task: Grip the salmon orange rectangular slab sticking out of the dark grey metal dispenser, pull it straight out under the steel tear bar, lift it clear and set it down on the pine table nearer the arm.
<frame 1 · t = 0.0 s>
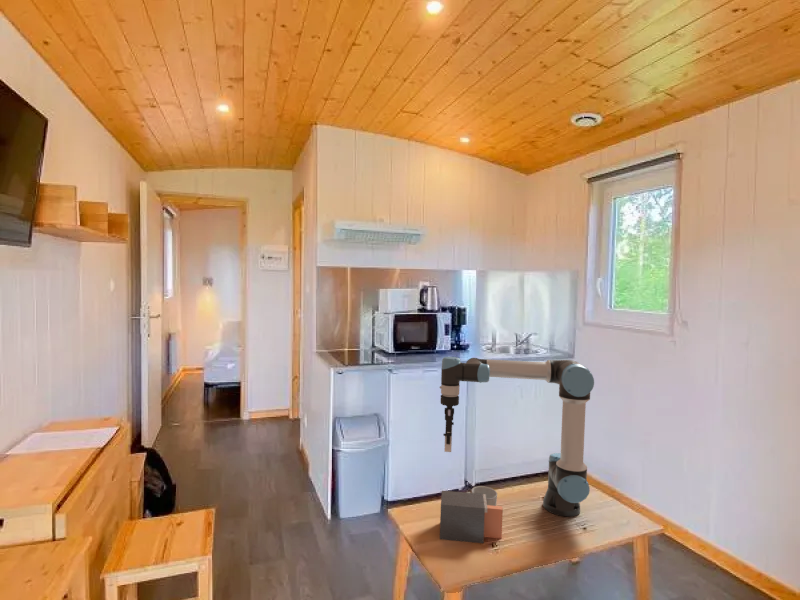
hand: (448, 446, 191), 28 cm above the table, fingers open, 13 cm apart
salmon orange rectangular slab: (485, 535, 175), on the table
dispenser: (461, 532, 177), on the table
teacup: (479, 510, 195), on the table
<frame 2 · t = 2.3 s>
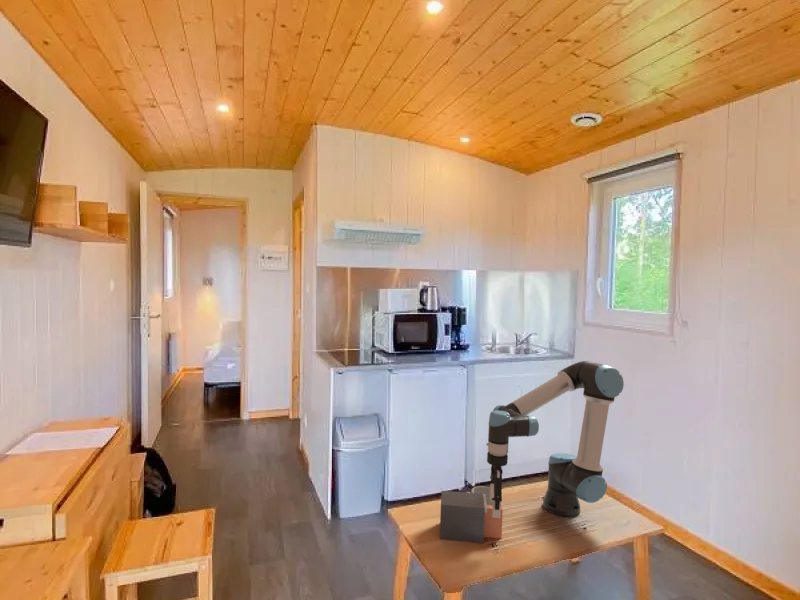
hand: (494, 508, 175), 10 cm above the table, fingers open, 13 cm apart
nothing on the table moved.
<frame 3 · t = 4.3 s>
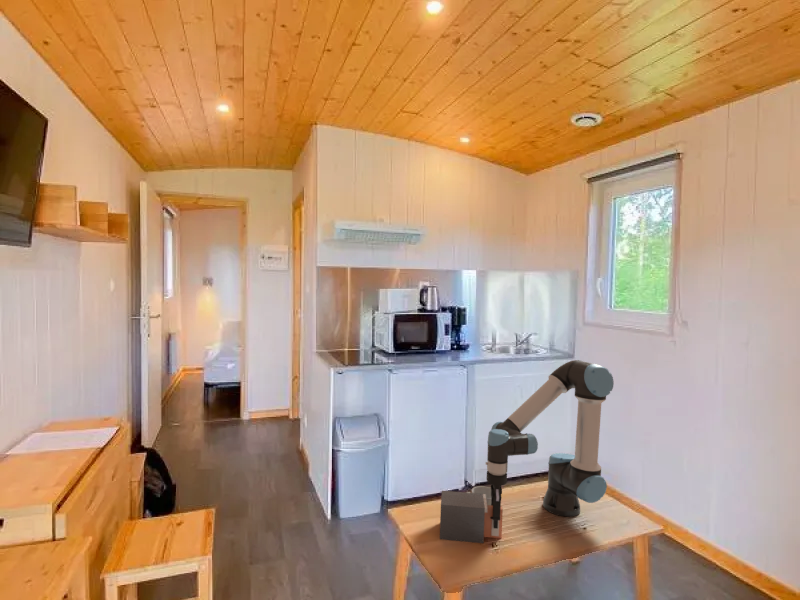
hand: (494, 533, 175), 1 cm above the table, fingers closed on salmon orange rectangular slab, 2 cm apart
salmon orange rectangular slab: (485, 535, 175), on the table, touching gripper
everything else where it was.
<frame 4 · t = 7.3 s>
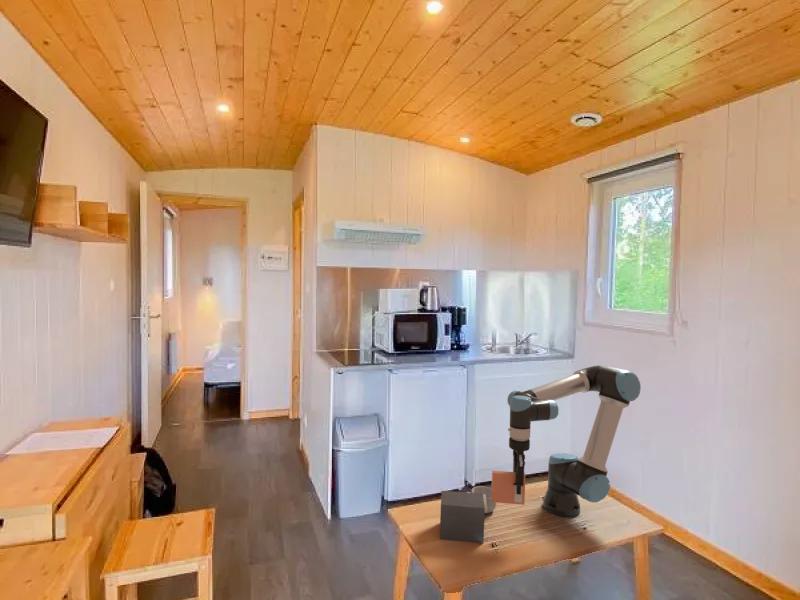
hand: (517, 499, 174), 14 cm above the table, fingers closed on salmon orange rectangular slab, 2 cm apart
salmon orange rectangular slab: (507, 501, 174), point 13 cm above the table, touching gripper
everything else where it was.
when the fingers open (2 cm above the table, at t = 10.5 s): salmon orange rectangular slab stays where it is, on the table.
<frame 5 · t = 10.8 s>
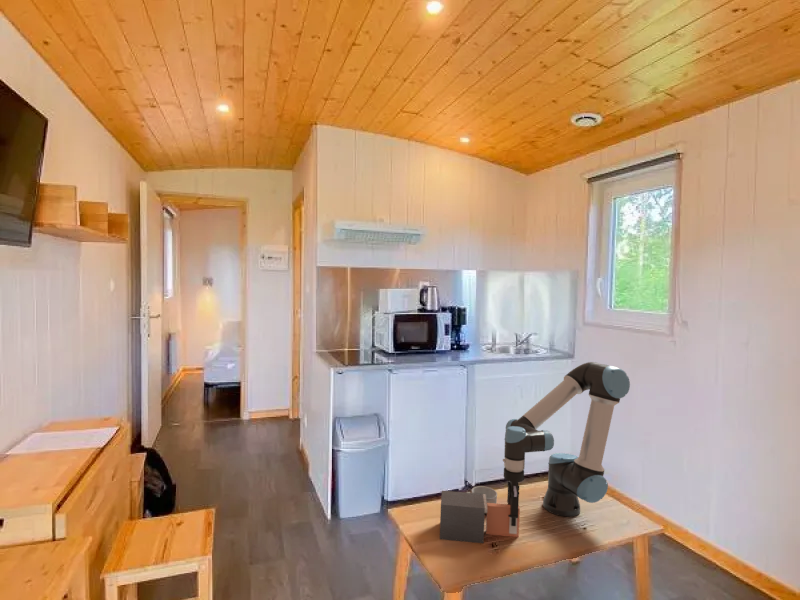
hand: (511, 528, 176), 2 cm above the table, fingers open, 6 cm apart
salmon orange rectangular slab: (502, 533, 177), on the table
everything else where it was.
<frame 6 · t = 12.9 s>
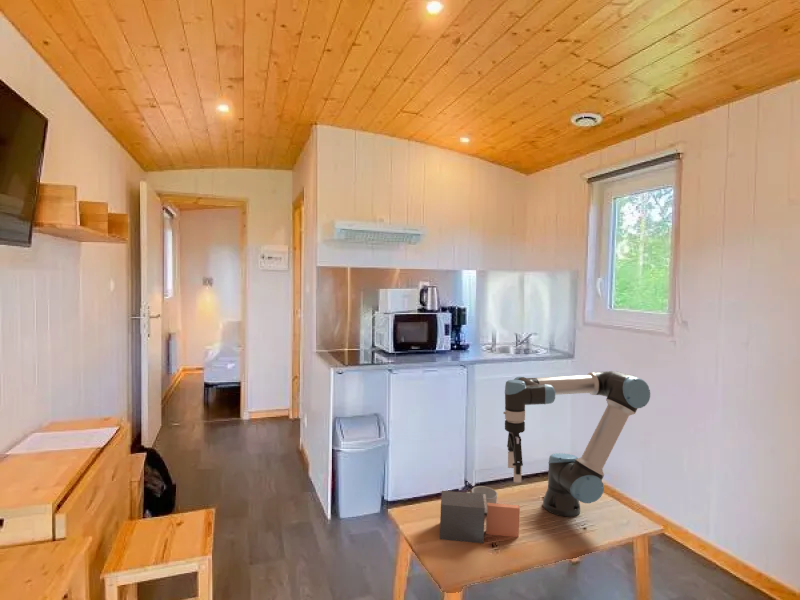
hand: (514, 474, 180), 21 cm above the table, fingers open, 13 cm apart
nothing on the table moved.
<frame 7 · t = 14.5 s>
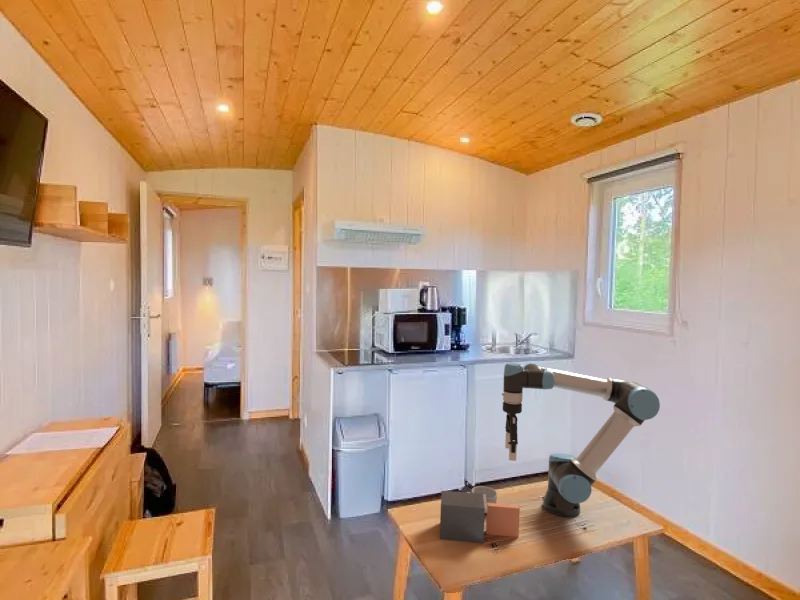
hand: (510, 454, 187), 27 cm above the table, fingers open, 13 cm apart
nothing on the table moved.
at the end: salmon orange rectangular slab inside the target area (4.5 cm from its centre), on the table; salmon orange rectangular slab touching table; the gripper is holding nothing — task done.
